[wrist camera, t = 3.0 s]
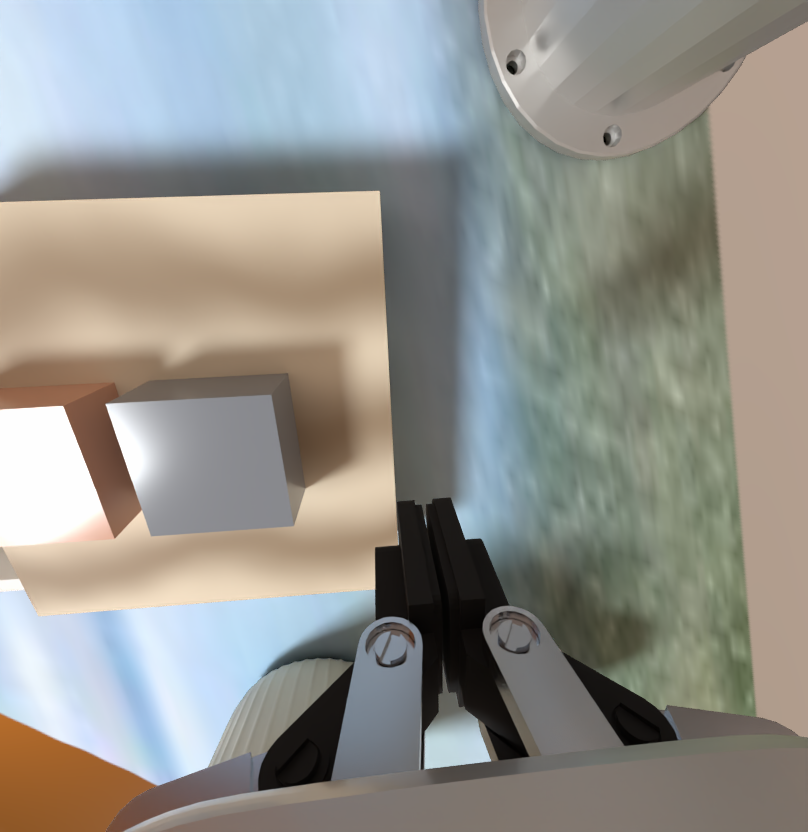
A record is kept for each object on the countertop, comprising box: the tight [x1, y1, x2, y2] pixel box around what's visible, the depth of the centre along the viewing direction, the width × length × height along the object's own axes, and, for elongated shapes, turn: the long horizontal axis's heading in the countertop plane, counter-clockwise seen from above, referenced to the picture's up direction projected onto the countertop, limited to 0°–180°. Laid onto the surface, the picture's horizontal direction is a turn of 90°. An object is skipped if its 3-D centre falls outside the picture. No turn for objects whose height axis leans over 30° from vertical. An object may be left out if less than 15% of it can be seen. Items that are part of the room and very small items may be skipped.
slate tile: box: [106, 373, 306, 536], centre depth 17 cm, size 6×6×3 cm
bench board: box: [0, 191, 398, 616], centre depth 20 cm, size 20×20×5 cm
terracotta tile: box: [0, 382, 142, 547], centre depth 17 cm, size 6×6×3 cm
